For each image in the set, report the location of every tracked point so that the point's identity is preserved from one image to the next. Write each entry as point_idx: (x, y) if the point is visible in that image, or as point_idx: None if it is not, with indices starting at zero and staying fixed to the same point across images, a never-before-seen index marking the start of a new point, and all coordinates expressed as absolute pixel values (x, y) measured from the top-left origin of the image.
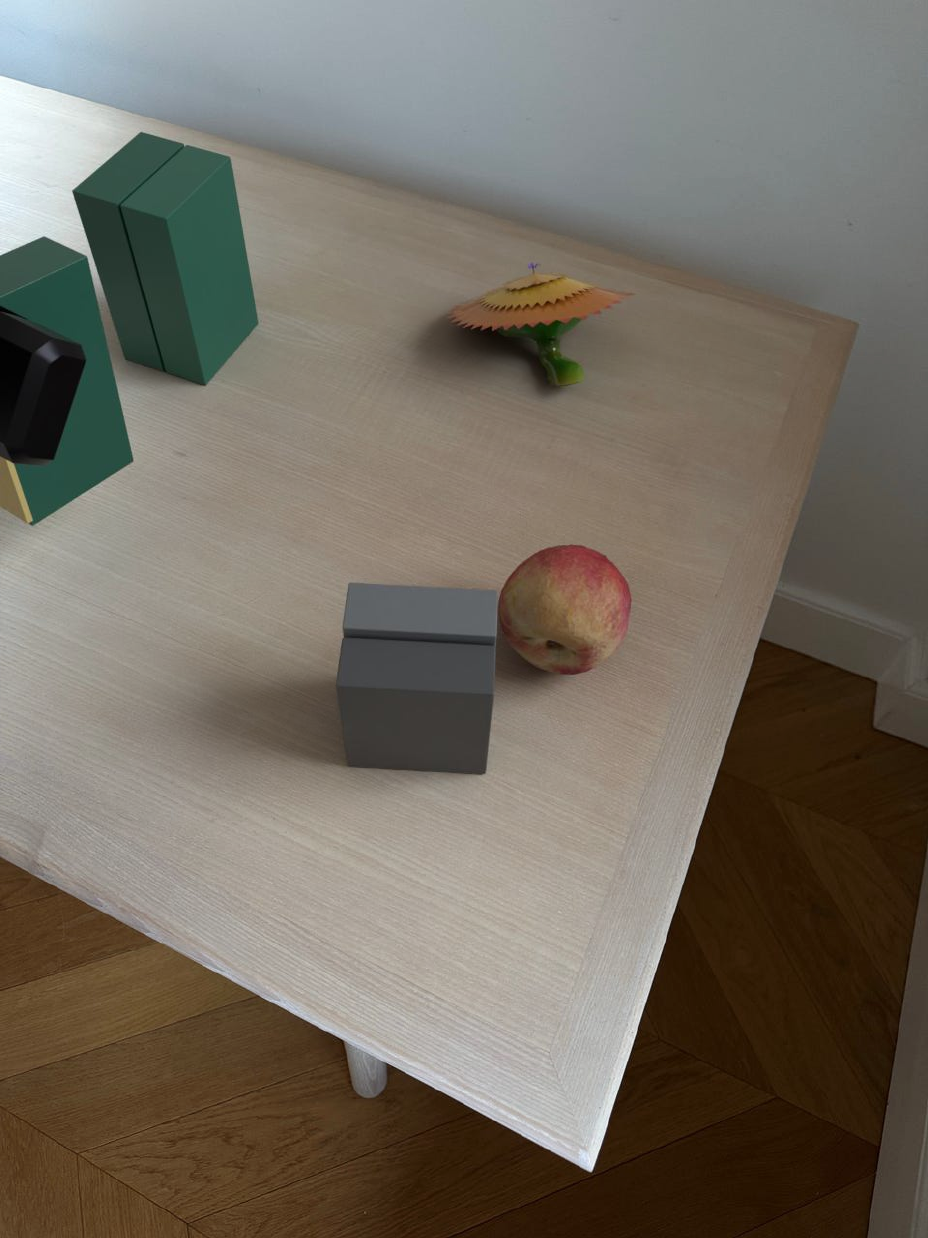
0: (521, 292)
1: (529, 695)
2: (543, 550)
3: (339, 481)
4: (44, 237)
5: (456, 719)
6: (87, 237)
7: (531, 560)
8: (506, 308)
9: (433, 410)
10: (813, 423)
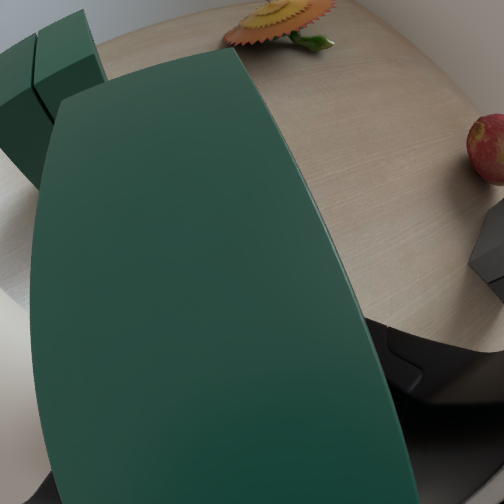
0: (281, 10)
1: (497, 200)
2: (491, 127)
3: (319, 170)
4: (67, 100)
5: None
6: (9, 156)
7: (501, 136)
8: (286, 19)
9: (293, 94)
10: (392, 27)
